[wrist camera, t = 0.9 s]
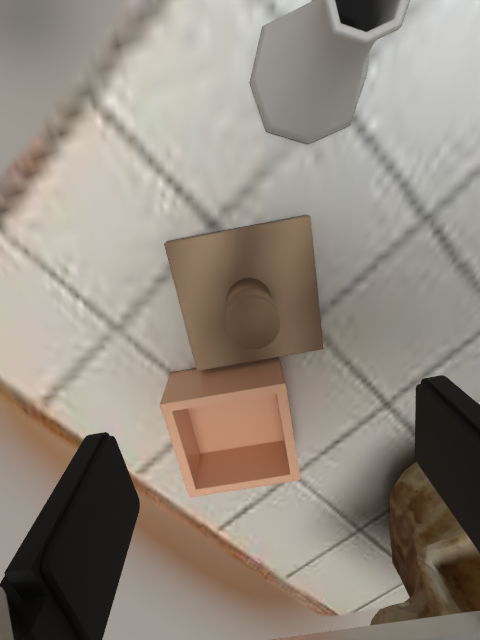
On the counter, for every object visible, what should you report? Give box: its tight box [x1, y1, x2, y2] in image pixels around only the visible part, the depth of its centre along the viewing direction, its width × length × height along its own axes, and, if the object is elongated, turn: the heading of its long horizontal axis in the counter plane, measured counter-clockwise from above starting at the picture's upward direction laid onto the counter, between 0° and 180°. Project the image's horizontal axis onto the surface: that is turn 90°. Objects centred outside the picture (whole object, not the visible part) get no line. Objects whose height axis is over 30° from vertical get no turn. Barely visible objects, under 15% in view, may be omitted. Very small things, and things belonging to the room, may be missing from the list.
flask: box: [250, 0, 410, 144], centre depth 16 cm, size 7×7×10 cm
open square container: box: [160, 357, 300, 497], centre depth 27 cm, size 9×9×4 cm
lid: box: [164, 215, 323, 371], centre depth 22 cm, size 10×10×6 cm
